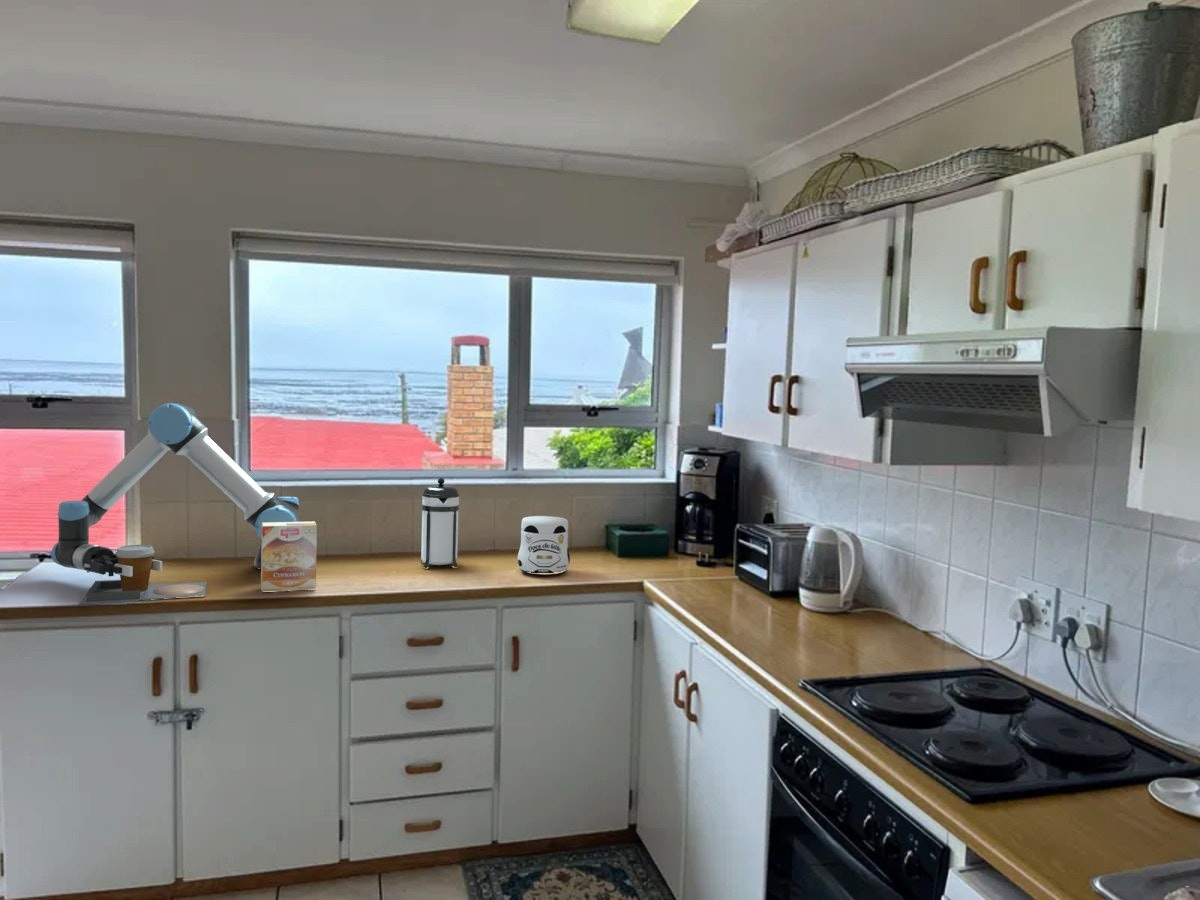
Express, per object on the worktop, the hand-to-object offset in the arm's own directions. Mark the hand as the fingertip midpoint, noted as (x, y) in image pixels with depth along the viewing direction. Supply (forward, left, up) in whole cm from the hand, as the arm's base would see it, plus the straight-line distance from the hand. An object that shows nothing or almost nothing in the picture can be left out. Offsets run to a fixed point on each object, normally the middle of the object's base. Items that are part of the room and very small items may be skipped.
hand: (146, 568), depth 234 cm
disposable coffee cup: (+3, -4, -7) cm, 8 cm away
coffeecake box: (-37, 0, -8) cm, 38 cm away
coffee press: (-86, -23, -8) cm, 89 cm away
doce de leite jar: (-117, -3, -8) cm, 117 cm away
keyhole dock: (0, -4, -8) cm, 9 cm away
